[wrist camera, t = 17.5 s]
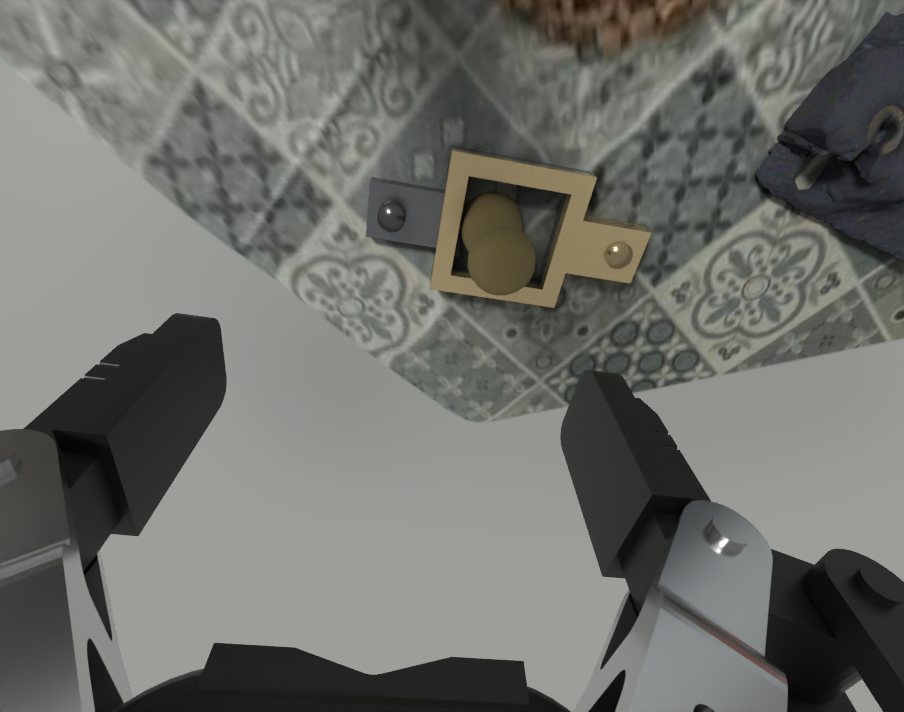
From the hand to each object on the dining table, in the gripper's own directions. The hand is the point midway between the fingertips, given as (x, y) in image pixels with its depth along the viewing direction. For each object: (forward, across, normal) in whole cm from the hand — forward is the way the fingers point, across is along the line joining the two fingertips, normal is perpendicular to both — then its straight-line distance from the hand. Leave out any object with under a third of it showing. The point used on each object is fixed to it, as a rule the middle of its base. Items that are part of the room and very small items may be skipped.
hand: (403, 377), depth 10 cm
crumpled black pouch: (+35, -40, -6) cm, 54 cm away
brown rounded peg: (+34, -7, +6) cm, 35 cm away
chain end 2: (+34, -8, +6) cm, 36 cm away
